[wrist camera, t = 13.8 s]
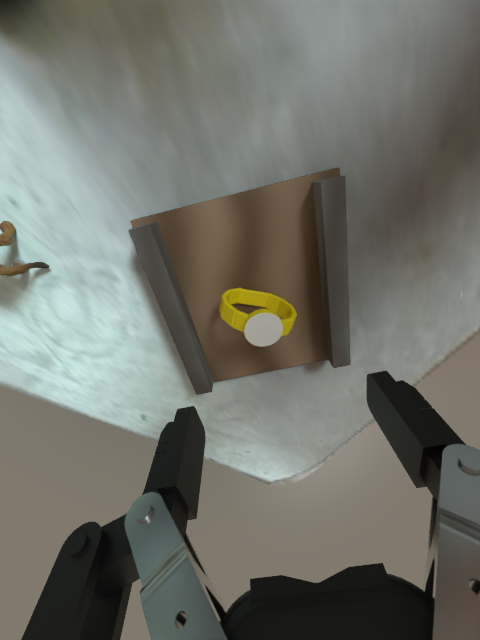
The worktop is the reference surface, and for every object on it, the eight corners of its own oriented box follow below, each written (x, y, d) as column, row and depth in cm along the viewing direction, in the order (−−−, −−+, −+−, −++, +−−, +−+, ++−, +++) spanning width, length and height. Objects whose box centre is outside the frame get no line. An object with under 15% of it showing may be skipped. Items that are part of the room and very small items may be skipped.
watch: (218, 304, 23) (214, 340, 18) (224, 275, 22) (221, 304, 16) (282, 316, 24) (296, 353, 18) (290, 289, 23) (309, 320, 17)
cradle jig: (333, 168, 19) (350, 165, 17) (341, 349, 27) (354, 368, 24) (135, 219, 21) (120, 224, 18) (197, 377, 28) (194, 399, 26)
